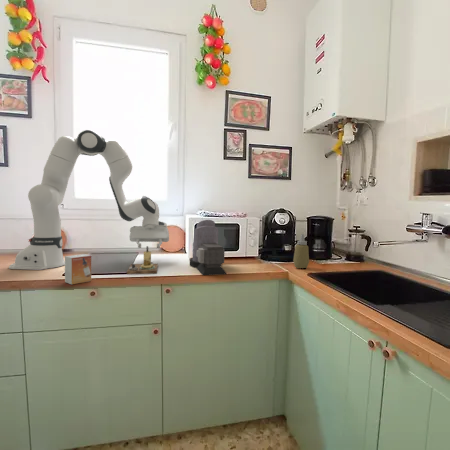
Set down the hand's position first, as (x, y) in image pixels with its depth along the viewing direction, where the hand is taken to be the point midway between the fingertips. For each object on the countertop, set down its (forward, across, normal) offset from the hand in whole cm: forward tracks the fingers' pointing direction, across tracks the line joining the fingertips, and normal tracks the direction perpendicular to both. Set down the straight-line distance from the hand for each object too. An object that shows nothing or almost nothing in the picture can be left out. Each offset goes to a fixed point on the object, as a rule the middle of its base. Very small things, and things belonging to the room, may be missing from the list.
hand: (149, 247), depth 145 cm
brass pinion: (+14, 0, -3) cm, 14 cm away
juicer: (+12, +29, +1) cm, 32 cm away
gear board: (+14, -2, -1) cm, 14 cm away
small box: (+27, -25, -14) cm, 39 cm away
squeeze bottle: (+15, +79, -3) cm, 80 cm away
